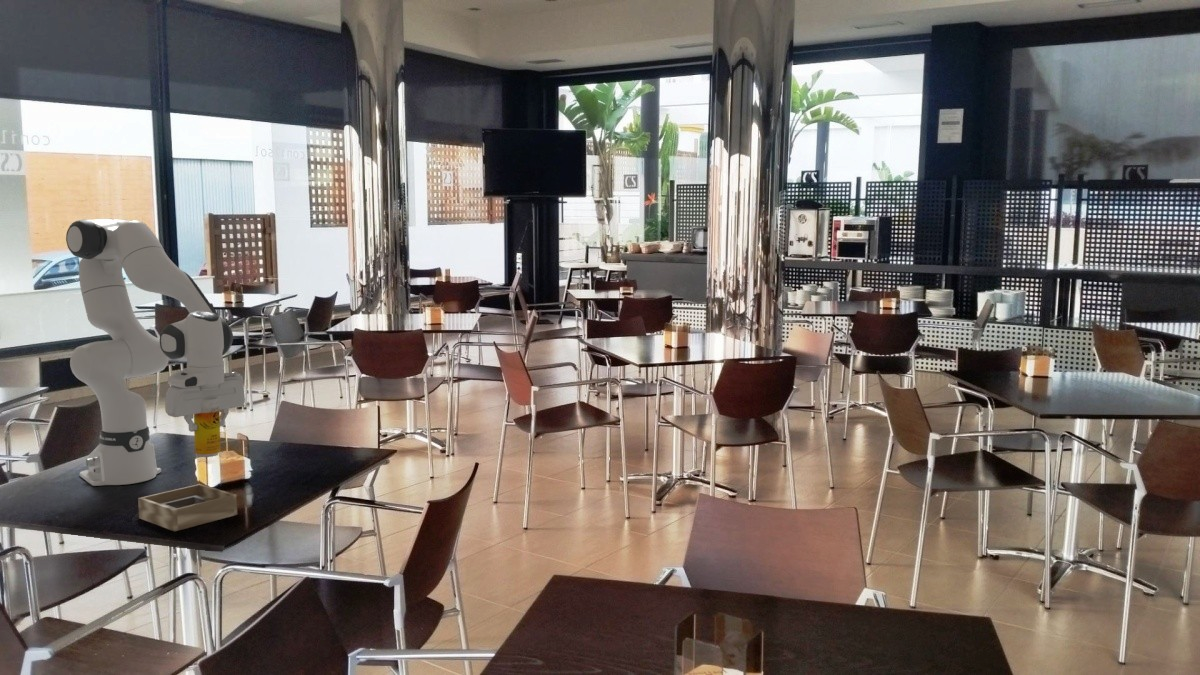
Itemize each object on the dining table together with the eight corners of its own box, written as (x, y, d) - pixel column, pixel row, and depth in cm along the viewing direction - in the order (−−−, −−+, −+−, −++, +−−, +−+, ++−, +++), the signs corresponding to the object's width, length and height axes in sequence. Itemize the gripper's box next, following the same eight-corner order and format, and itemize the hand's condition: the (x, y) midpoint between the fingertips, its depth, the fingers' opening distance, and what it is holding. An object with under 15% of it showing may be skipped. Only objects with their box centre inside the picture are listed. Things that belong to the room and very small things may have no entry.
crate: (139, 518, 228) (138, 498, 227) (201, 502, 240) (200, 483, 240) (174, 531, 218) (173, 510, 217) (237, 514, 231) (236, 494, 230)
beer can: (211, 458, 240) (210, 400, 238) (189, 456, 241) (188, 399, 239) (225, 452, 246) (224, 396, 244) (204, 450, 247) (202, 394, 245)
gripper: (235, 369, 251) (236, 420, 253) (161, 378, 235) (162, 433, 237) (249, 372, 247) (250, 424, 249) (174, 382, 231) (176, 437, 233)
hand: (206, 428), depth 243 cm, fingers closed on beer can, 6 cm apart
